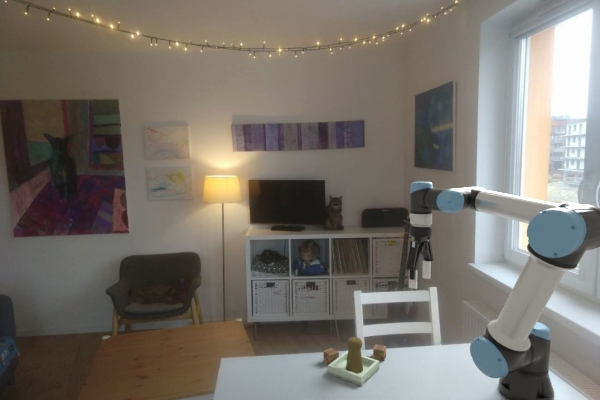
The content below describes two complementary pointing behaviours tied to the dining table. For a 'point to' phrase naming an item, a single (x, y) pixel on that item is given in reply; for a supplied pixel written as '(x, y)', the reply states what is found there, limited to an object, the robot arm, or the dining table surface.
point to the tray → (340, 371)
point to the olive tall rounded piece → (354, 355)
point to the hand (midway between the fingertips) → (419, 283)
